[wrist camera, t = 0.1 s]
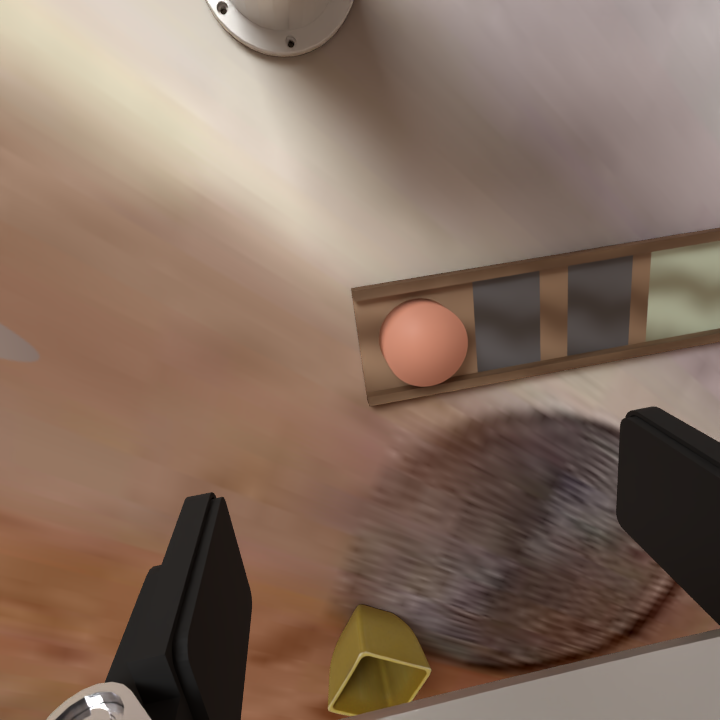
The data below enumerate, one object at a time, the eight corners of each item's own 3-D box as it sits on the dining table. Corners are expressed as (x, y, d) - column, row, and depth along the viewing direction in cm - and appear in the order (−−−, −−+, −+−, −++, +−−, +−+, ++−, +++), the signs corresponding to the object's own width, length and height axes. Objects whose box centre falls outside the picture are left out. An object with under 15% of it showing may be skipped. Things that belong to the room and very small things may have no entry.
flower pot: (352, 586, 58) (362, 652, 49) (414, 604, 60) (433, 670, 52) (321, 639, 60) (326, 711, 51) (382, 655, 62) (396, 726, 54)
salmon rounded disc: (374, 305, 47) (380, 313, 44) (453, 292, 47) (465, 299, 44) (384, 380, 49) (390, 393, 46) (458, 366, 50) (470, 378, 47)
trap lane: (351, 288, 46) (352, 291, 45) (768, 219, 50) (781, 220, 48) (367, 400, 50) (369, 406, 49) (752, 329, 54) (764, 333, 52)
